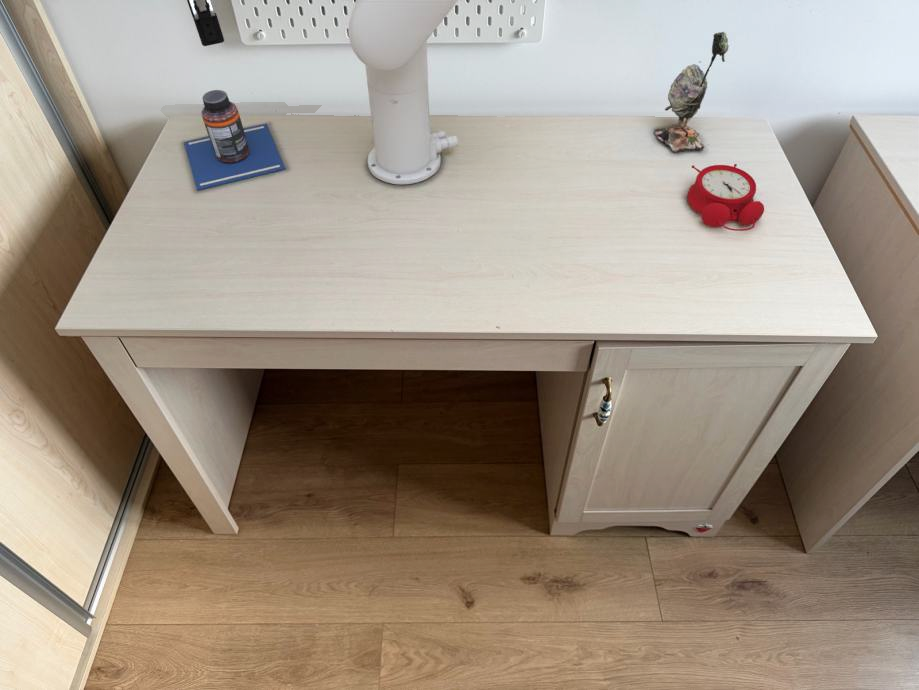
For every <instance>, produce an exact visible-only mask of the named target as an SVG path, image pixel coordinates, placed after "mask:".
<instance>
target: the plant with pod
mask: <svg viewBox="0 0 919 690" xmlns="http://www.w3.org/2000/svg"><path fill="white" fill-rule="evenodd" d="M728 43H729V38H728V36H727V33H726V32H725V31H721V32H715V33H714V34H713V40H712V46H711V53H712V54H711V55H712V56H711V60H710V63H709V65H708V68H707V69H706V71H705V72H704V70H702V69H701V68H700V66H699V65H698V64H695V63H693V64H691V65H687V66H686V67H685V69H684V68H683V69H682V70H681V72H680V73H679V74H678V75H677V76H676V78H675V79H674V80H673V82H672V83H671V85H670V89H669V90H668V95H667V100H668V102H669V105H668V106H666V107H665V108H664V111H666V112H667V111H669V110H670V109H671V112H673V113H674V114H675V115H676V116H677V117H678V120H677V125H676V124H675V125H672V126H669V127H662V128H656V129H654V130H653V131H654V134H655V135H656V137H657V138H658V140H659V141H661V142H665V145H667V146H669V147H670V148H671V150H672V152H676V153H677V152H679V151H680V152H682V151H683V150H692V151H694V150H701V151H702V150H704V149H705V147H706V146H704V144H703V143H702V139H701V138H702V136H701V135H700V133H699V132H698V131H696V130H695V129H693V128H692V127H691V126H689V125H688V123H689V122H690V121H691V119H692V118H693V117H695V115H696V114H697V113H698V112H699V111H698V110H700V109H701V105H702V102H703V101H704V98H705V95H706V93H707V92H706V91H707V90H708V81H707V76H708V74H709V71H710V68H711V67H712V65H713V64H714V61H715V60H716V57H717V55H719V57H721V62H723V63H724V62H726V60H725V55H726V53H727V52H728V51H729V47H730V46H729V44H728ZM699 63H700V64H701V63H702V61H699Z"/></svg>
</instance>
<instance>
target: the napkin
mask: <svg viewBox="0 0 919 690" xmlns="http://www.w3.org/2000/svg"><path fill="white" fill-rule="evenodd" d="M243 129H244V133H245V136H246V139H247V143H248V146H249V154H248V156H247V157H245V158H244V159H243V160H241V161H238V162H235V163H225V162H222V161H220V160H218V159H217V157H216V155H215V153H214V150H213V148H212V144H211V141H210V138H209V135H208V136H204V137H200V138H196V139H191V140H185V141H183V144H184V147H185V151H186V154H187V158H188V162H189V165H190V169H191V174H192V177H193V180H194V184H195V187H196V191H203V190H206V189H210V188H215V187H219V186H222V185H228V184H231V183H236V182H239V181H240V182H241V181H243V180H247V179H251V178H256V177H260V176H264V175H268V174H273V173H276V172H277V173H278V172H281V171H285V170H286V166H285V165H284V162H283V159H282V157H281V154H280V152H279V150H278V147H277V145H276V143H275V140H274V137H273V136H272V134H271V131H270V129H269V126H268V123H262V124H257V125H252V126H249V127H245V128H244V127H243Z"/></svg>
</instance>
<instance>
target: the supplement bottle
mask: <svg viewBox="0 0 919 690" xmlns="http://www.w3.org/2000/svg"><path fill="white" fill-rule="evenodd" d="M202 103H203V106H204V107H203V108H202V110H201V117H202V120H203V124H204V126H205V131H206V133H207V135H208V136H209V138H210V141H211V144H212V148H213V150H214V153H215V155H216V157H217V159H218V160H220V161H222V162H225V163H235V162H238V161H241V160H243V159H244V158H245V157H247V156H248V154H249V146H248V143H247V139H246V136H245V133H244V126H243V123H242V119H241V117H240V113H239V109H238V107H237V106H236V104H235V103H234V102H232V101H230V99H229V96H228V93H227V92H226V91H225V90H222V89H213V90H209V91H207V92H205V93H204V94H203V95H202Z"/></svg>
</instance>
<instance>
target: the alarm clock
mask: <svg viewBox="0 0 919 690" xmlns="http://www.w3.org/2000/svg"><path fill="white" fill-rule="evenodd" d="M691 169H694V170H695V171H696V172H697V176H696V178H695V181H694V183H693V184H692V185H691V186H690V187H689V188H688V190H687V194H686V199H687V203H688V205H689V206H690V208H691V209H692V210H693V211H695V212H696V214H698V215H700V216H701V217H700V219H701V221H702V222H703V224H705V225H706V226H707V227H710V228H719V227H723V228H724V229H726V230H729V231H736V232H738V231H739V232H743V231H749V230H752V229H754V228H755V225H756V223H757V222H758V221H759V220H761V218H762V217H763V215H764V212H765V206H764V204H763V202H761V201H760V200H755V201H754V197H755V195H756V192H757V183H756V181H755V179H754V178H753V176H751V175H750V174H749V173H748V172H746V171H745V170H743V169H741V168H739V167H738V165H737V163H734V164H733V166H732V165H726V164H716V165H715V164H714V165H708V166H707V167H704V168H702V169H701V170H700V169H698V168H697V167H696V166H695V165H691ZM734 222H738V223H739V224H740V225H741V226H743V227H744V226H745V227H747V228H731V227H729V226H726V224H727V223H734ZM748 226H750V227H748Z"/></svg>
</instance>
